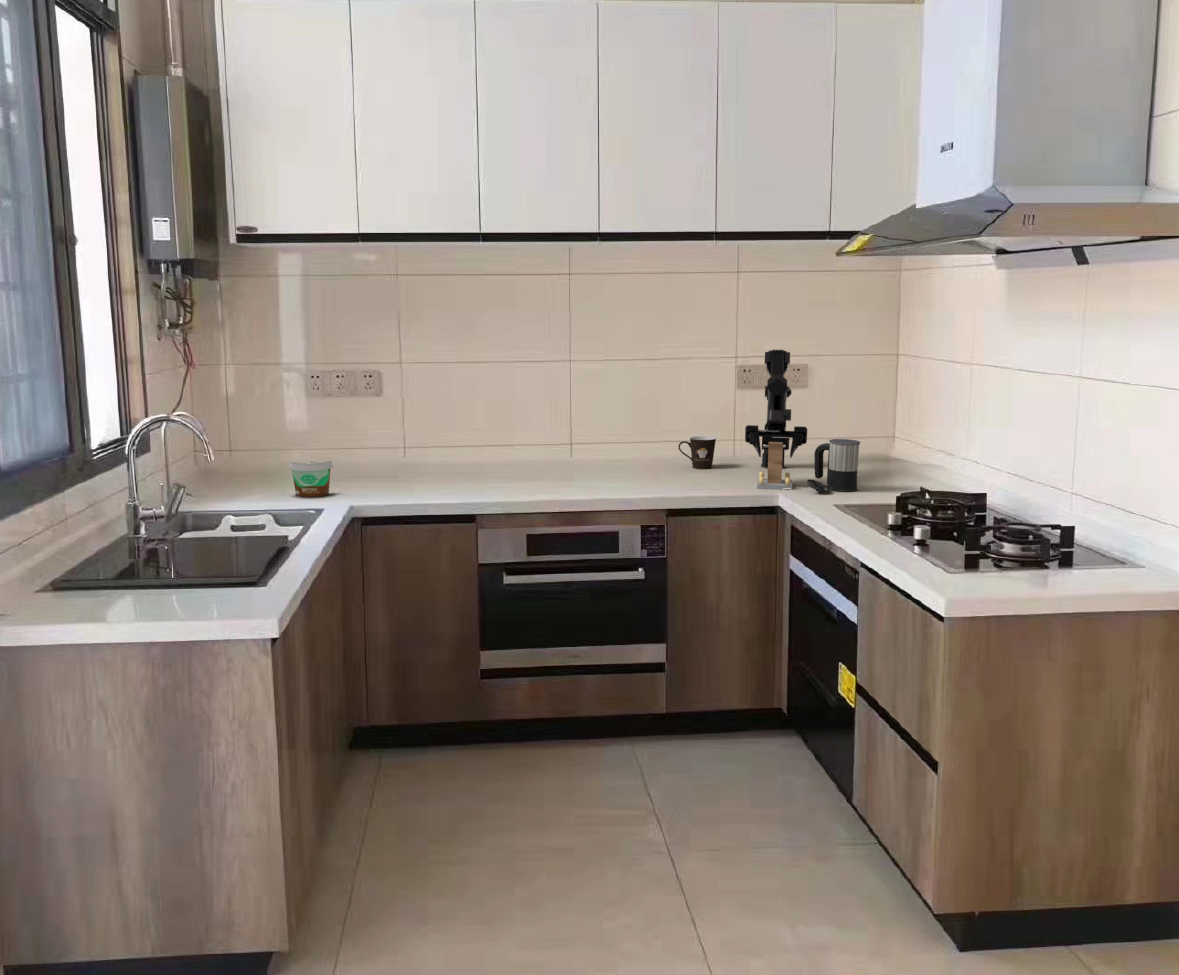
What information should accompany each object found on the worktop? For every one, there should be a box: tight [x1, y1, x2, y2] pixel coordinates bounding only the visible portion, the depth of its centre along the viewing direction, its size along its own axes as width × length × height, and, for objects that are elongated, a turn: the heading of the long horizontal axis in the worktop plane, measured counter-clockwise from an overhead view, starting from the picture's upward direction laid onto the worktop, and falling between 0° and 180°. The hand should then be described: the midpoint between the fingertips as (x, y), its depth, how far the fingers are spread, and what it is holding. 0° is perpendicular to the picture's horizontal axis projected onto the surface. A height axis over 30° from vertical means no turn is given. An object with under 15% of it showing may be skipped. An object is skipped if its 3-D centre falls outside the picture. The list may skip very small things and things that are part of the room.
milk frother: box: [806, 438, 861, 494], centre depth 335 cm, size 14×16×15 cm
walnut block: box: [766, 442, 784, 484], centre depth 342 cm, size 4×4×12 cm
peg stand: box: [756, 471, 793, 490], centre depth 343 cm, size 10×10×3 cm
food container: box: [289, 459, 334, 499], centre depth 323 cm, size 12×6×10 cm, turn 106°
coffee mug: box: [678, 435, 717, 470], centre depth 375 cm, size 12×9×10 cm
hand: (775, 456), depth 340 cm, fingers open, 9 cm apart
